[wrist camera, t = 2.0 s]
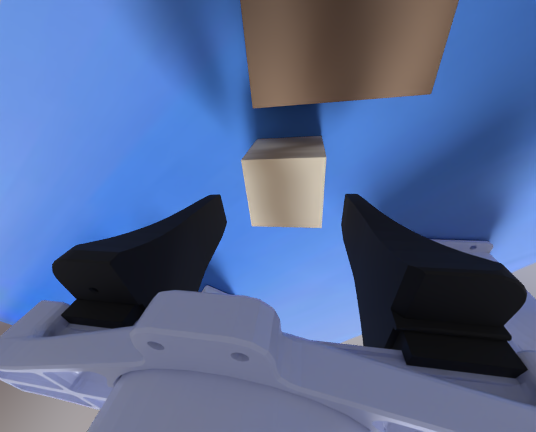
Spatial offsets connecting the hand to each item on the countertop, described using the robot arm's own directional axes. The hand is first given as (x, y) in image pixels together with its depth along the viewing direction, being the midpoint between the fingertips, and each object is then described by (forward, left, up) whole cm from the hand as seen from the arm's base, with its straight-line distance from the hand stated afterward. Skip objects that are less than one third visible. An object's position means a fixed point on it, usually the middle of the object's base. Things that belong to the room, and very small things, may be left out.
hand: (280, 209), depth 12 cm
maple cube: (0, 0, -7) cm, 7 cm away
